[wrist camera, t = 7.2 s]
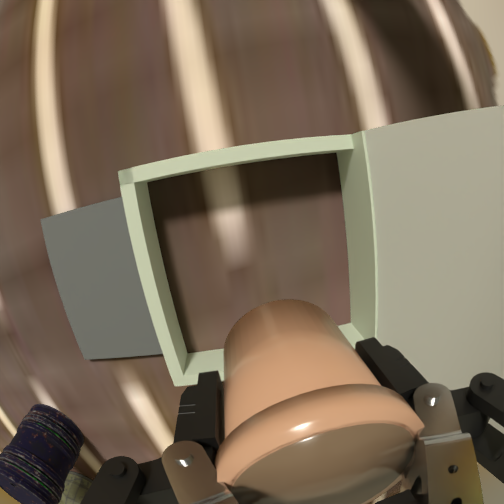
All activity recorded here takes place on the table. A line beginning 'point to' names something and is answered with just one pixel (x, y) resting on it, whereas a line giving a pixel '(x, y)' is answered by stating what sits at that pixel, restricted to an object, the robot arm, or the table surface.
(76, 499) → the thermos
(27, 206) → the table surface
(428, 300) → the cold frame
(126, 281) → the slate mat
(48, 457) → the storage jar
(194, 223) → the table surface
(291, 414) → the pot
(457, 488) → the robot arm
